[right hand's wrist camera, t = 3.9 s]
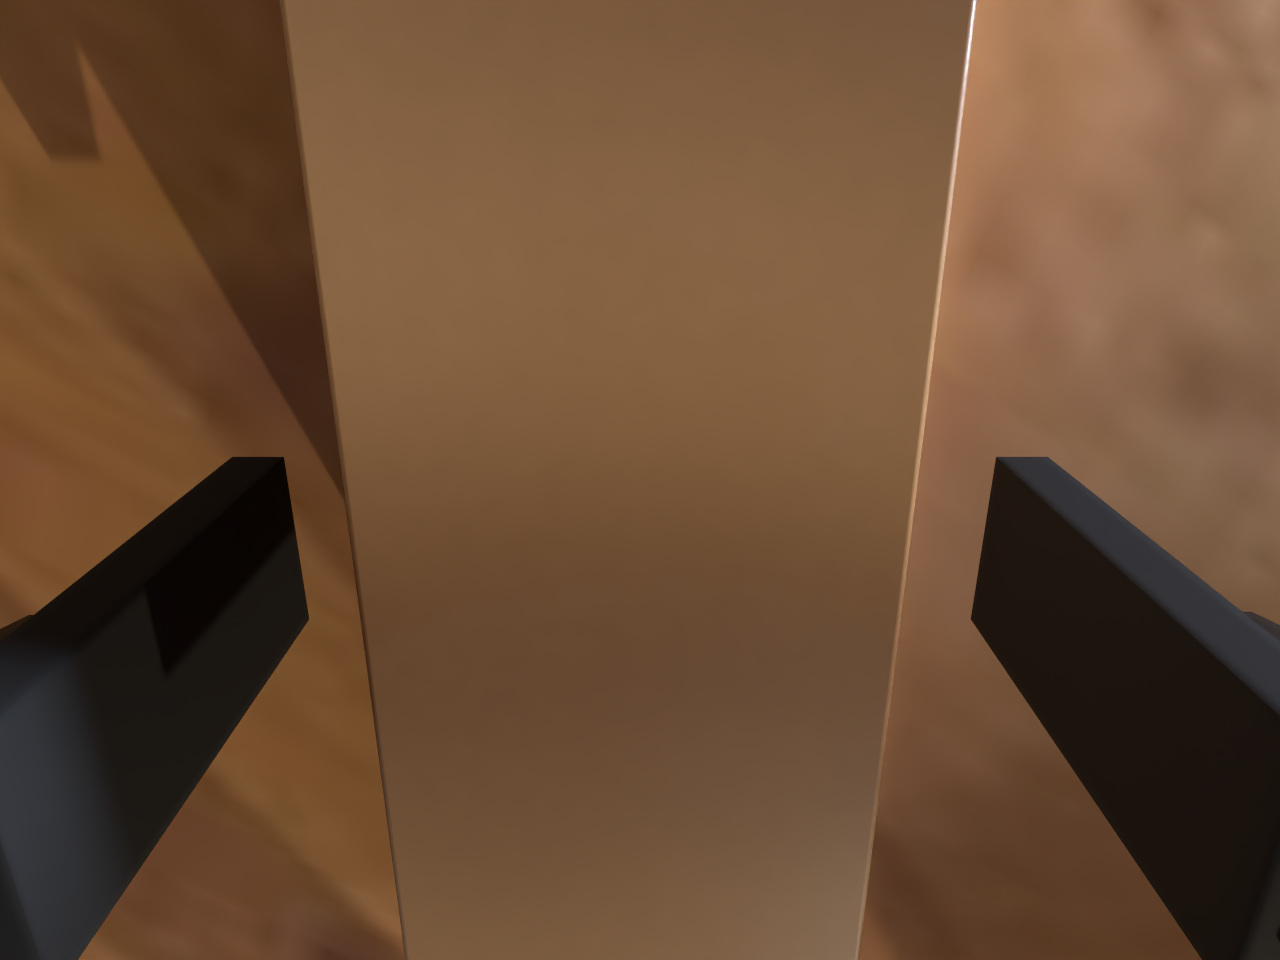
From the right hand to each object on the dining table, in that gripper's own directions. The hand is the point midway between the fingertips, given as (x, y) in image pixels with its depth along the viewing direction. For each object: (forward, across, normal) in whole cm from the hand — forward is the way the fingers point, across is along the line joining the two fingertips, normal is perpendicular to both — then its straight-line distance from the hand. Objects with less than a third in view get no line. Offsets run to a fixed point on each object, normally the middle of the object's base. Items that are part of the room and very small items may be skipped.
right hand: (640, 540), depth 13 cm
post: (+2, 0, -18) cm, 18 cm away
